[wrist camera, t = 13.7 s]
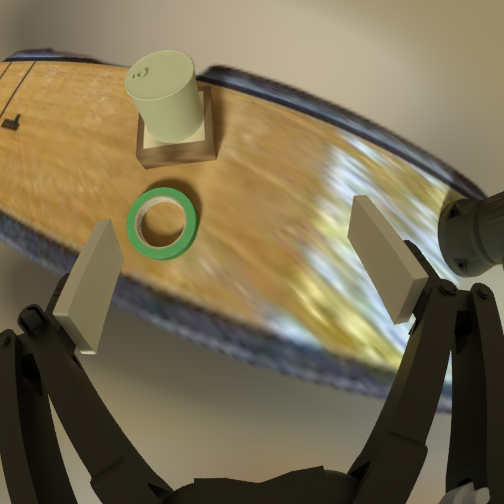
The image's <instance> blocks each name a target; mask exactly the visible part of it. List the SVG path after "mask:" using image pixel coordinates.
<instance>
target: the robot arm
mask: <svg viewBox="0 0 504 504" xmlns="http://www.w3.org/2000/svg"><path fill="white" fill-rule="evenodd" d="M347 237H348V239H349V241H350V243H351V244H352V246H353V248H354V250H355V251H356V253H357V255H358V257H359V258H360V260H361V262H362V264H363V266H364V267H365V269H366V271H367V273H368V275H369V277H370V278H371V280H372V282H373V284H374V286H375V288H376V290H377V292H378V294H379V295H380V297H381V299H382V301H383V303H384V305H385V307H386V309H387V311H388V313H389V315H390V317H391V319H392V321H393V323H394V325H395V324H400V323H404V322H408V321H409V319H410V317H411V315H412V313H413V314H414V316H415V318H416V320H415V322H414V324H413V326H412V328H411V330H410V332H409V333H408V334H409V335H410V337H409V340H408V343H407V346H406V349H405V352H404V355H403V358H402V361H401V364H400V366H399V369H398V372H397V375H396V377H395V380H394V382H393V385H392V387H391V390H390V392H389V395H388V397H387V399H386V402H385V404H384V407H383V409H382V411H381V413H380V415H379V418H378V420H377V422H376V425H375V426H374V428H373V430H372V433H371V435H370V437H369V438H368V440H367V443H366V444H365V447H364V448H363V450H362V452H361V453H360V455H359V456H358V457H357V459H356V460H355V462H354V463H353V465H352V466H351V468H350V470H349V471H348V473H347V474H345V473H342V472H338V471H333V470H324V468H323V466H318V467H313V468H308V469H302V470H296V471H292V472H289V473H286V474H284V475H281V476H279V477H276V478H273V479H270V480H268V481H265V482H261V483H254V482H247V481H241V480H234V479H228V478H206V479H205V478H194V483H192V484H188V485H186V486H183V487H181V488H179V489H177V490H175V491H174V490H173V489H172V488H171V487H170V486H169V485H168V484H167V483H166V482H165V481H164V480H163V479H162V478H160V477H159V476H158V475H157V474H156V473H155V472H154V471H153V470H152V469H151V468H150V466H149V465H148V464H147V463H146V462H145V460H144V459H143V458H142V456H141V455H140V454H139V453H138V452H137V450H136V449H135V447H134V446H133V445H132V443H131V442H130V441H129V439H128V438H127V437H126V436H125V434H124V433H123V431H122V430H121V428H120V427H119V425H118V424H117V423H116V421H115V420H114V418H113V417H112V415H111V414H110V412H109V411H108V409H107V407H106V406H105V404H104V403H103V401H102V400H101V398H100V397H99V395H98V393H97V391H96V390H95V388H94V387H93V385H92V383H91V382H90V380H89V378H88V376H87V374H86V373H85V371H84V369H83V367H82V365H81V363H80V362H79V360H78V358H77V356H76V355H75V354H74V351H75V348H76V347H77V348H78V349H79V351H80V352H81V353H82V354H96V351H97V347H98V343H99V339H100V336H101V331H102V328H103V324H104V321H105V317H106V314H107V310H108V307H109V304H110V300H111V297H112V294H113V291H114V288H115V285H116V281H117V278H118V275H119V272H120V269H121V267H122V264H123V261H124V256H123V254H122V251H121V248H120V245H119V243H118V240H117V237H116V234H115V231H114V228H113V225H112V222H111V219H104V220H98V222H97V224H96V225H95V227H94V229H93V231H92V232H91V234H90V236H89V238H88V240H87V242H86V243H85V245H84V247H83V249H82V251H81V253H80V255H79V257H78V259H77V261H76V263H75V265H74V267H73V269H72V271H71V273H66V274H65V275H64V276H63V277H62V278H61V279H60V281H59V282H58V285H57V287H56V290H55V291H54V293H53V297H51V300H50V302H49V304H48V306H47V309H46V311H45V313H44V312H43V310H42V309H41V307H40V306H39V305H37V304H32V305H29V306H27V307H26V308H25V309H23V310H22V312H21V313H20V314H19V317H18V325H19V326H20V327H21V329H22V330H23V331H24V334H21V335H18V336H17V335H16V334H15V332H14V331H13V330H11V329H7V330H4V331H3V332H1V333H0V454H1V461H2V466H3V471H4V476H5V480H6V484H7V488H8V492H9V496H10V500H11V503H12V504H78V503H77V500H76V498H75V495H74V492H73V490H72V487H71V484H70V481H69V478H68V475H67V472H66V469H65V466H64V462H63V459H62V455H61V452H60V448H59V445H58V441H57V437H56V432H55V428H54V424H53V419H52V414H51V409H50V404H49V398H48V395H49V397H50V399H51V402H52V404H53V406H54V408H55V411H56V413H57V415H58V417H59V419H60V421H61V423H62V425H63V427H64V429H65V431H66V433H67V435H68V437H69V439H70V441H71V442H72V444H73V446H74V448H75V450H76V451H77V453H78V455H79V457H80V458H81V460H82V462H83V464H84V465H85V467H86V468H87V470H88V472H89V473H90V475H91V478H92V479H91V481H90V484H91V487H92V489H93V490H94V492H95V493H96V495H97V496H98V498H99V499H100V501H101V502H102V503H103V504H406V502H407V500H408V497H409V496H410V493H411V491H412V489H413V487H414V485H415V483H416V480H417V478H418V476H419V474H420V471H421V469H422V466H423V464H424V461H425V459H426V456H427V451H428V448H427V446H426V445H425V443H426V439H427V436H428V433H429V430H430V427H431V424H432V421H433V418H434V415H435V412H436V408H437V405H438V401H439V398H440V394H441V391H442V387H443V383H444V379H445V375H446V370H447V366H448V361H449V356H450V351H451V357H452V419H451V435H450V445H449V455H448V463H447V472H446V494H445V495H444V496H443V498H442V499H441V501H440V502H439V503H438V504H504V334H503V330H502V326H501V321H500V317H499V312H498V309H497V305H496V301H495V297H494V294H493V292H492V291H491V289H490V288H489V287H487V286H486V285H485V284H482V283H475V284H473V286H472V288H471V290H470V291H466V290H458V289H457V287H456V286H455V285H454V284H453V283H452V282H450V281H449V280H446V279H440V277H439V276H438V274H437V273H436V272H435V270H434V269H433V267H432V266H431V265H430V263H429V262H428V261H427V260H426V258H425V257H424V255H423V254H422V253H421V251H420V250H419V249H418V247H417V246H416V245H414V244H413V243H412V242H410V241H409V240H402V239H401V238H400V236H399V235H398V234H397V232H396V231H395V230H394V229H393V227H392V226H391V225H390V223H389V222H388V221H387V220H386V218H385V217H384V216H383V215H382V214H381V212H380V211H379V210H378V209H377V207H376V206H375V205H374V204H373V203H372V201H371V200H370V199H369V198H368V197H367V196H366V195H359V196H354V198H353V205H352V211H351V218H350V224H349V230H348V236H347ZM438 240H439V246H440V250H441V253H442V255H443V258H444V260H445V262H446V264H447V265H448V266H449V268H450V269H451V270H452V271H453V272H454V273H455V274H457V275H459V276H461V277H476V276H479V275H481V274H483V273H484V272H486V271H487V270H489V269H490V268H492V267H493V266H495V265H496V264H503V269H504V191H503V192H501V193H498V194H496V195H493V196H491V197H488V198H486V199H484V200H474V199H460V200H457V201H455V202H452V203H450V204H449V205H448V206H447V207H446V208H445V209H444V210H443V212H442V214H441V217H440V220H439V226H438Z"/></svg>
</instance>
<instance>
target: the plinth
mask: <svg viewBox="0 0 504 504" xmlns="http://www.w3.org/2000/svg"><path fill="white" fill-rule="evenodd" d="M197 88H198V93H199V98H200V103H201V106H202V108H203V112H204V117H203V121H202V124H201V126H200V128H199V129H198V130H197V131H196V132H195V133H194V134H193V135H192V136H190V137H189V138H187V139H185V140H183V141H180V142H176V143H164V142H160V141H158V140H156V139H154V138H153V137H152V136H151V135H150V134H149V132H148V130H147V126H146V124H145V122H144V120H143V118H142V117H141V115H140V113H139V120H138V133H137V150H136V157H137V159H138V160H139V161H140V163H141V164H142V165H143V167H144V168H145V169H150V168H156V167H163V166H170V165H177V164H185V163H193V162H202V161H211V160H216V153H215V137H214V120H213V102H212V95H211V87H210V86H203V87H197Z"/></svg>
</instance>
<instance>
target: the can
mask: <svg viewBox="0 0 504 504" xmlns="http://www.w3.org/2000/svg"><path fill="white" fill-rule="evenodd" d="M125 88H126V91H127V93H128V94H129V95H130V97H131V99H132V100H133V102H134V104H135V106H136V107H137V109H138V111H139V113H140V115H141V117H142V118H143V120H144V122H145V124H146V126H147V130H148V132H149V134H150V135H151V136H152V137H153V138H154V139H156V140H158V141H160V142H164V143H176V142H180V141H183V140H185V139H187V138H189V137H190V136H192V135H193V134H194V133H195V132H196V131H197V130H198V129H199V128H200V126H201V124H202V121H203V117H204V112H203V108H202V106H201V103H200V98H199V93H198V88H197V82H196V77H195V71H194V63H193V61H192V59H191V58H190V57H189V56H188V55H187V54H185V53H183V52H181V51H177V50H161V51H157V52H154V53H151V54H149V55H146V56H145V57H143V58H141V59H140V60H138V61H137V62H136V63H135V64H134V65H133V66H132V67H131V68H130V70H129V71H128V73H127V75H126V78H125Z"/></svg>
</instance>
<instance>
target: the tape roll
mask: <svg viewBox="0 0 504 504" xmlns="http://www.w3.org/2000/svg"><path fill="white" fill-rule="evenodd" d="M159 202H172V203H175V204H177V205H178V206H180V207H181V208H182V210H183V212H184V217H185V224H184V228H183V231H182V233H181V235H180V236H179V238H178V239H177V240H176V241H175V242H173V243H172V244H170V245H168V246H164V247H154V246H150V245H149V244H148V243H147V242H146V241H145V239H144V237H143V235H142V231H141V223H142V219H143V216H144V215H145V213H146V211H147V210H148V209H149V208H150V207H151V206H153V205H155V204H157V203H159ZM197 230H198V217H197V213H196V210H195V208H194V206H193V204H192V203H191V201H190V200H189V198H188V197H187V196H186V195H185V194H183V193H182V192H180V191H178V190H176V189H173V188H168V187H160V188H155V189H152V190H149V191H147V192H145V193H144V194H142V195H141V196H140V197H139V198H138V199H137V200H136V201H135V203H134V204H133V205H132V207H131V209H130V211H129V214H128V218H127V233H128V237H129V239H130V242H131V243H132V245H133V246H134V248H135V249H136V250H137V251H139V252H140V253H141V254H143V255H145V256H147V257H149V258H152V259H155V260H170V259H174V258H176V257H178V256H180V255H182V254H183V253H184V252H186V251H187V250H188V249H189V247H190V246H191V245H192V243H193V242H194V240H195V237H196V234H197Z"/></svg>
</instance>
